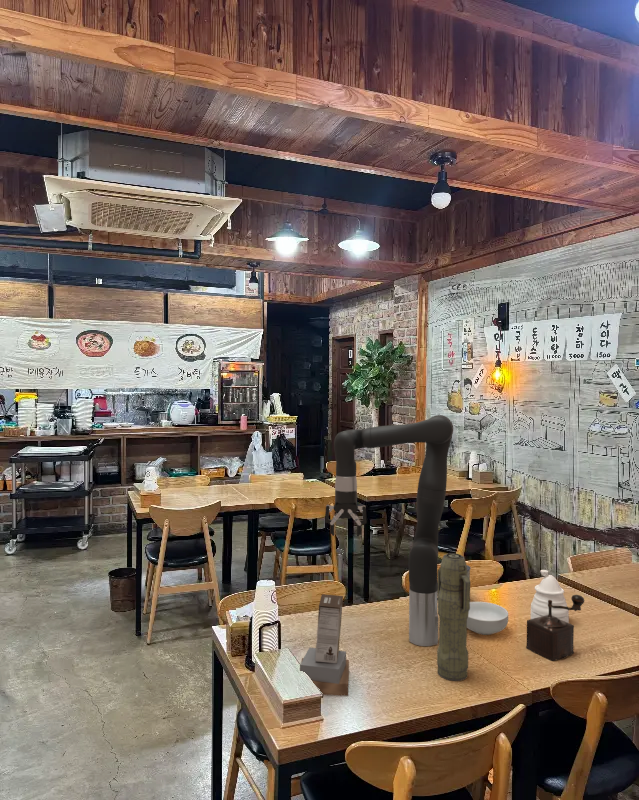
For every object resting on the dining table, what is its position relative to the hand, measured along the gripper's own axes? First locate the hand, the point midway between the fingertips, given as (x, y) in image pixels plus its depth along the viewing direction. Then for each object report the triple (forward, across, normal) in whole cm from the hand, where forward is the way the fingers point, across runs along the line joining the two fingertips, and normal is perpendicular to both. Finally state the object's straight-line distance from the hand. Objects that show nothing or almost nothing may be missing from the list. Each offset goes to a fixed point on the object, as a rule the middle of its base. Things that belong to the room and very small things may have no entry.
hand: (345, 535), depth 200 cm
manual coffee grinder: (+33, +68, -10) cm, 76 cm away
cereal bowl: (+33, +48, +4) cm, 59 cm away
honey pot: (+33, +74, +14) cm, 82 cm away
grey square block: (+30, -6, -36) cm, 47 cm away
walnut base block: (+34, -6, -35) cm, 49 cm away
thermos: (+33, +32, -28) cm, 54 cm away
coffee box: (+26, -5, -35) cm, 44 cm away
